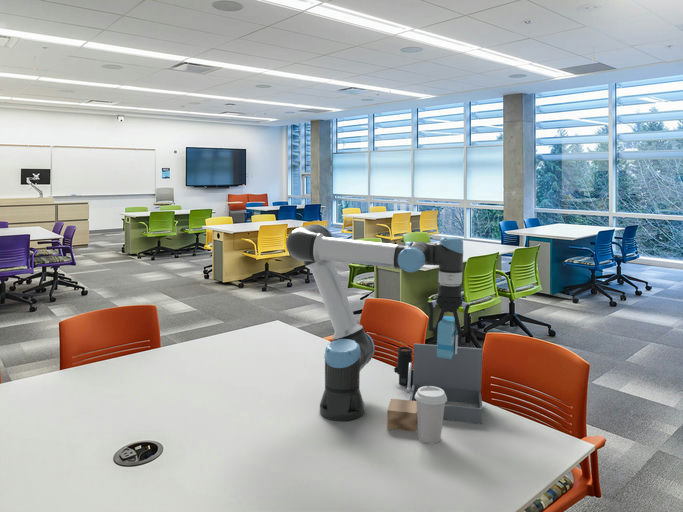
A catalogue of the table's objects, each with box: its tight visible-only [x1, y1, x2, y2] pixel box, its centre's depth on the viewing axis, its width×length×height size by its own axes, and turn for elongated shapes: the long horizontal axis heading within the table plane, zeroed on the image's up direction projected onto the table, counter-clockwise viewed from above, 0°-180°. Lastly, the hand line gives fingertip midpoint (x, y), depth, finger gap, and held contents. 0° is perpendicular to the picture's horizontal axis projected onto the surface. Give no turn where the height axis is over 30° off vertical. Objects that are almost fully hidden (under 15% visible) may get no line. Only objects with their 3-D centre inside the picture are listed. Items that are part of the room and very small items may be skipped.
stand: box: [386, 398, 418, 433], centre depth 162 cm, size 9×9×6 cm
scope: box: [393, 346, 413, 387], centre depth 194 cm, size 8×14×10 cm
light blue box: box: [436, 315, 458, 359], centre depth 169 cm, size 12×4×12 cm, turn 157°
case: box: [406, 343, 484, 425], centre depth 171 cm, size 25×16×20 cm, turn 77°
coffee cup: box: [414, 386, 448, 445], centre depth 152 cm, size 10×10×15 cm
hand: (447, 351), depth 170 cm, fingers closed on light blue box, 5 cm apart
